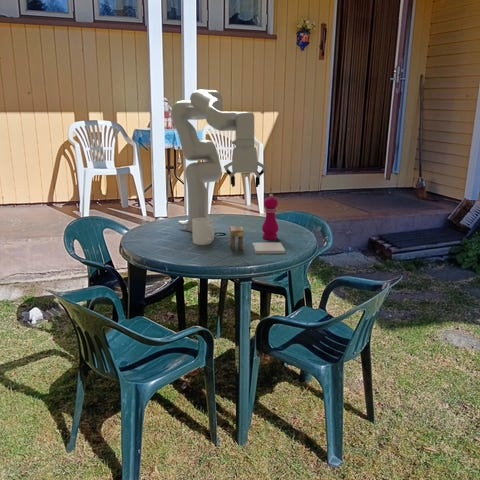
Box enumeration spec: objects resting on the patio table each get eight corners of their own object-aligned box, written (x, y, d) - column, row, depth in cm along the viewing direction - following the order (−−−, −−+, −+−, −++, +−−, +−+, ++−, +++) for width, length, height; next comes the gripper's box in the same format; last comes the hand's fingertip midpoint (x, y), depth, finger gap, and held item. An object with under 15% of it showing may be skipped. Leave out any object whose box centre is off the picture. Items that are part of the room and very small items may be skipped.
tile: (255, 253, 197) (255, 250, 196) (252, 245, 208) (252, 242, 208) (285, 253, 198) (285, 250, 197) (280, 245, 209) (280, 242, 209)
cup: (203, 239, 218) (203, 216, 215) (221, 244, 209) (221, 221, 206) (188, 242, 212) (188, 219, 209) (206, 248, 204) (206, 224, 201)
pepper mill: (276, 240, 216) (278, 195, 211) (260, 239, 218) (261, 194, 212) (278, 236, 223) (280, 192, 218) (263, 235, 224) (264, 192, 219)
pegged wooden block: (231, 250, 200) (231, 230, 198) (230, 245, 207) (230, 226, 205) (243, 250, 200) (243, 230, 198) (241, 245, 208) (242, 226, 205)
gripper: (221, 144, 194) (222, 187, 198) (265, 144, 192) (265, 188, 196) (225, 143, 202) (226, 185, 206) (267, 143, 199) (267, 185, 203)
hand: (245, 186), depth 201 cm, fingers open, 9 cm apart
